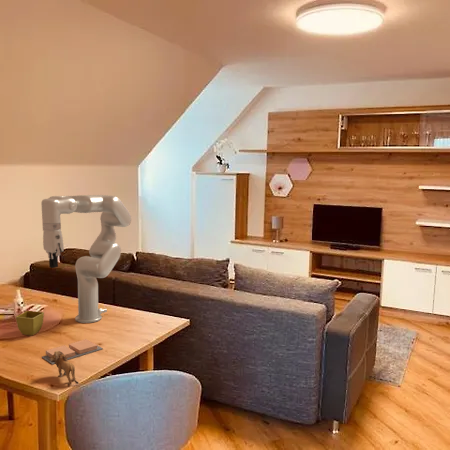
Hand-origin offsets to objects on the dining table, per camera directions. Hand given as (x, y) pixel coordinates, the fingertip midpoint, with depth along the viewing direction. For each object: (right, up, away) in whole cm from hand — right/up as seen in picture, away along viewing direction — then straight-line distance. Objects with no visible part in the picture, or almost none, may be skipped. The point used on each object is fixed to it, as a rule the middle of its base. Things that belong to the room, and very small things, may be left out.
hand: (53, 267), depth 207 cm
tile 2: (+14, -31, -10) cm, 36 cm away
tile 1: (+7, -32, -18) cm, 37 cm away
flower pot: (-12, -31, +3) cm, 33 cm away
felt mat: (+14, -34, -17) cm, 41 cm away
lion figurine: (+19, -37, -39) cm, 57 cm away
